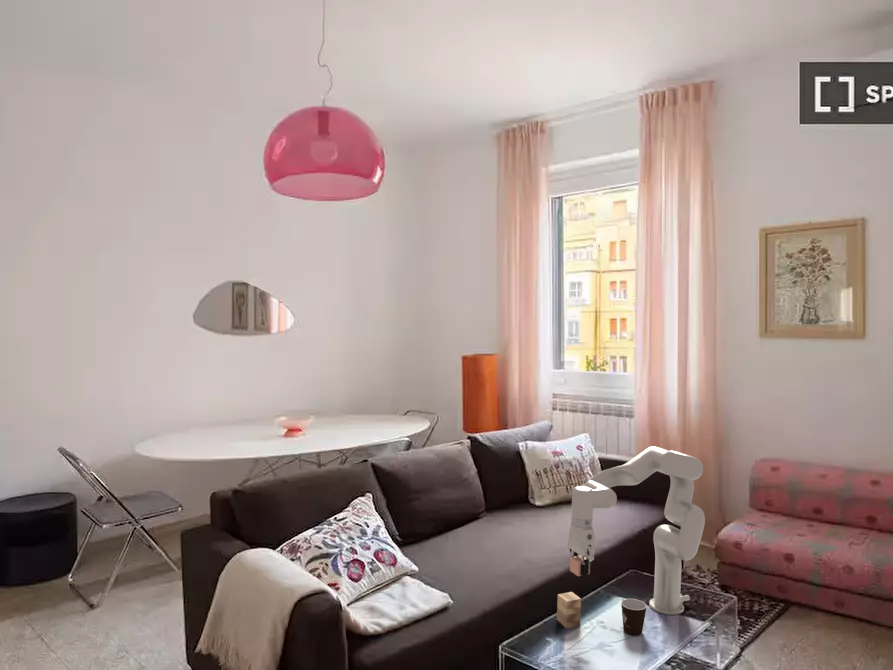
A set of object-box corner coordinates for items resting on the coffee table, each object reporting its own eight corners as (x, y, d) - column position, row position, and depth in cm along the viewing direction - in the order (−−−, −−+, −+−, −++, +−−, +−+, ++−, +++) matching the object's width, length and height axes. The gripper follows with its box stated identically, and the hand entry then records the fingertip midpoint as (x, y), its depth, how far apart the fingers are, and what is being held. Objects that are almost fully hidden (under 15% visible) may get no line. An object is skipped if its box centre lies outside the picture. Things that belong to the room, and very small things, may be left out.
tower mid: (571, 604, 245) (571, 591, 245) (580, 612, 240) (581, 598, 240) (557, 607, 243) (557, 594, 243) (566, 615, 238) (566, 601, 237)
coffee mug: (646, 639, 232) (647, 611, 231) (620, 636, 233) (621, 608, 233) (643, 623, 243) (644, 596, 242) (619, 620, 245) (620, 593, 244)
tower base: (570, 618, 246) (571, 604, 245) (580, 625, 240) (580, 612, 240) (556, 621, 243) (557, 607, 243) (565, 628, 238) (566, 615, 238)
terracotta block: (581, 568, 243) (582, 555, 242) (589, 574, 238) (590, 560, 238) (569, 570, 241) (570, 557, 240) (577, 576, 236) (578, 562, 236)
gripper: (605, 528, 232) (602, 579, 233) (576, 513, 247) (574, 561, 249) (587, 530, 229) (585, 582, 230) (559, 515, 244) (557, 563, 246)
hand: (579, 570), depth 239 cm, fingers closed on terracotta block, 5 cm apart
